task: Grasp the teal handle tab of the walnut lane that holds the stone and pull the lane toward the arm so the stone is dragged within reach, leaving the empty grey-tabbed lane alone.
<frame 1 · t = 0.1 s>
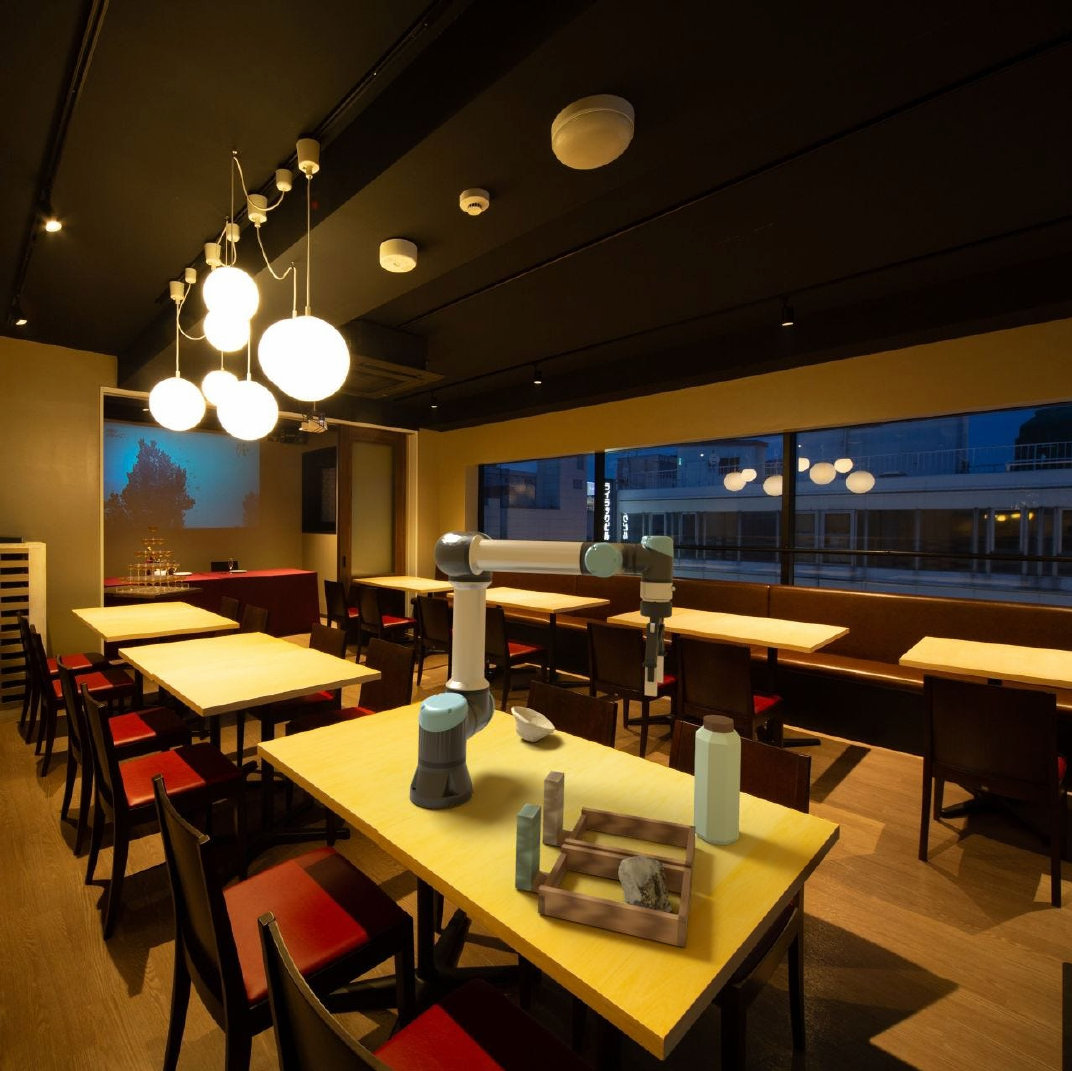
hand: (654, 688, 139), 28 cm above the table, fingers open, 13 cm apart
stone: (644, 911, 99), on the table
walnut lane: (601, 860, 102), point 7 cm above the table, slide at 0.0 cm
empty lane: (617, 818, 117), point 7 cm above the table, slide at 0.0 cm
bowl: (532, 740, 182), on the table
water bottle: (715, 836, 125), on the table
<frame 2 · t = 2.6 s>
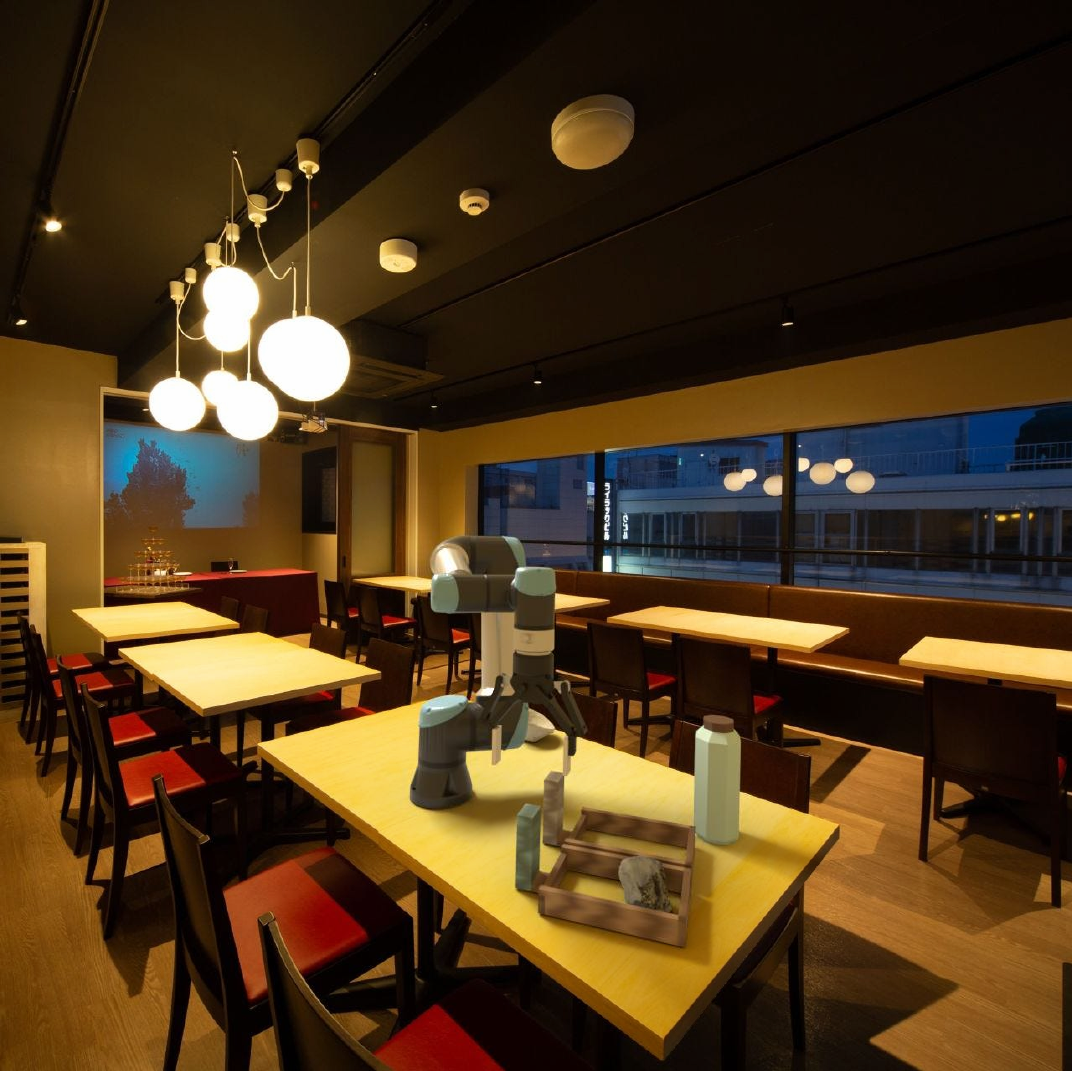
hand: (530, 767, 106), 21 cm above the table, fingers open, 13 cm apart
nothing on the table moved.
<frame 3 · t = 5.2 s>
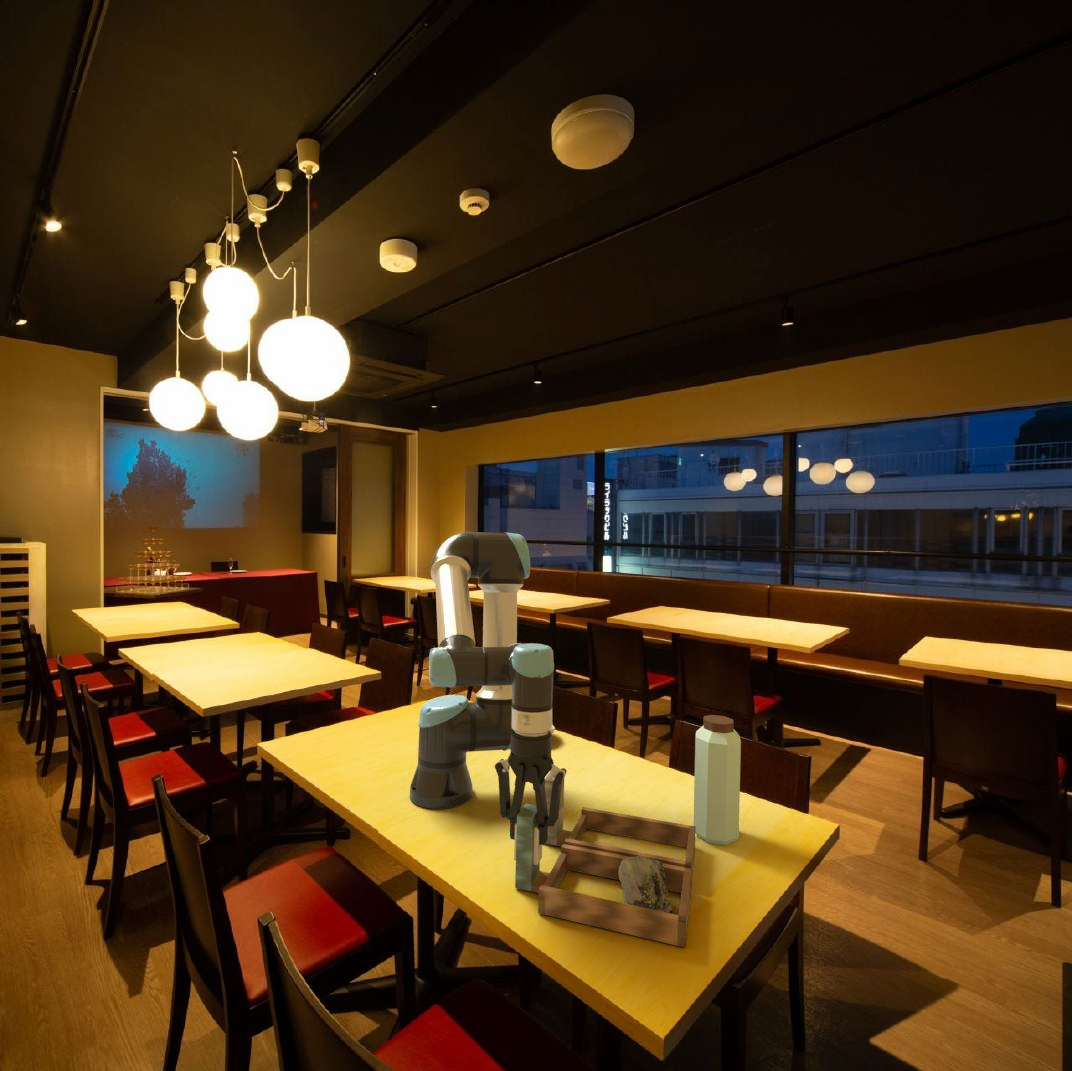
hand: (528, 858, 106), 5 cm above the table, fingers closed on walnut lane, 3 cm apart
walnut lane: (601, 860, 102), point 7 cm above the table, slide at 0.0 cm, touching gripper
everything else where it was.
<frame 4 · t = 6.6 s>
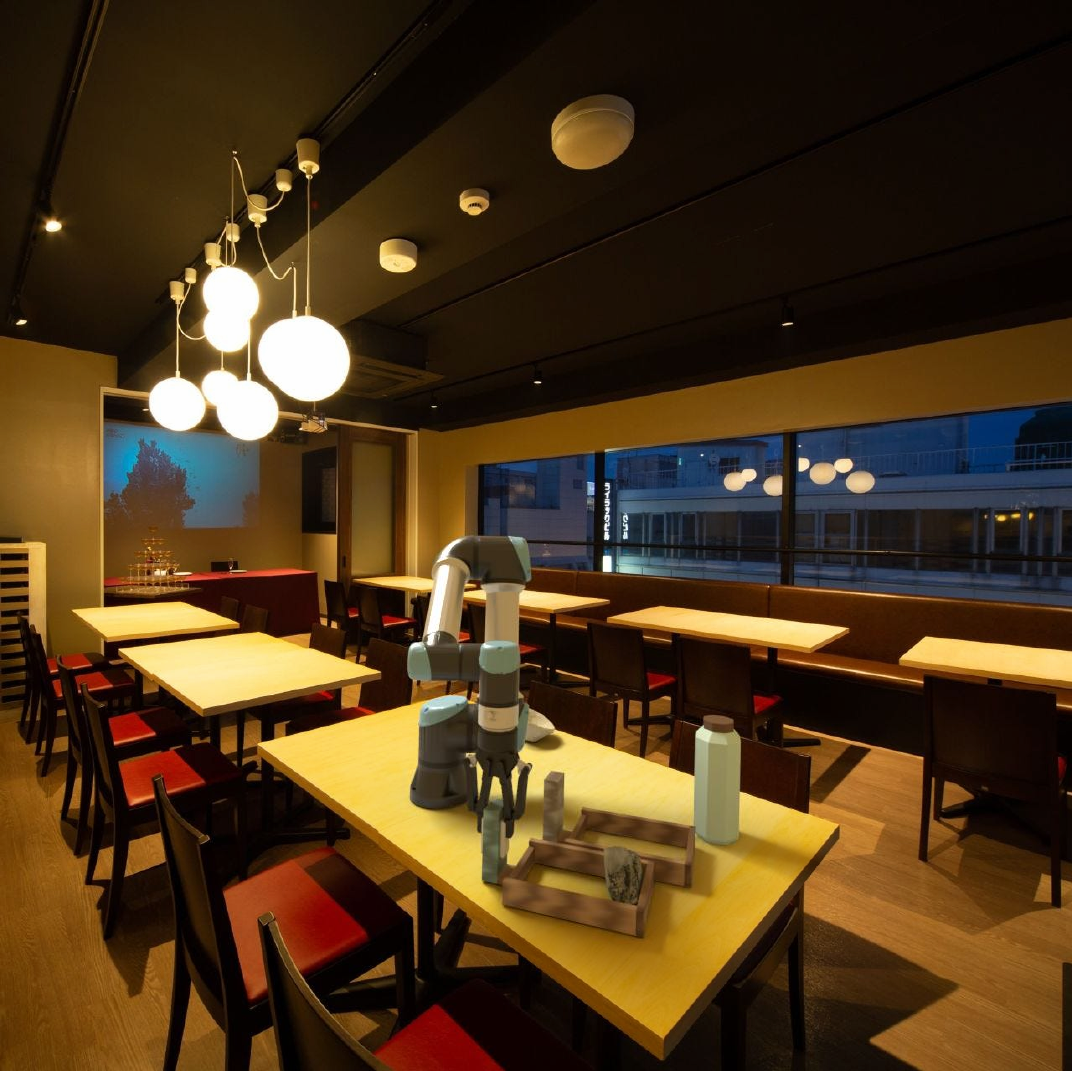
hand: (495, 851, 108), 5 cm above the table, fingers closed on walnut lane, 3 cm apart
stone: (622, 900, 102), on the table, touching walnut lane
walnut lane: (565, 853, 104), point 7 cm above the table, slide at 6.5 cm, touching gripper, stone
everything else where it was.
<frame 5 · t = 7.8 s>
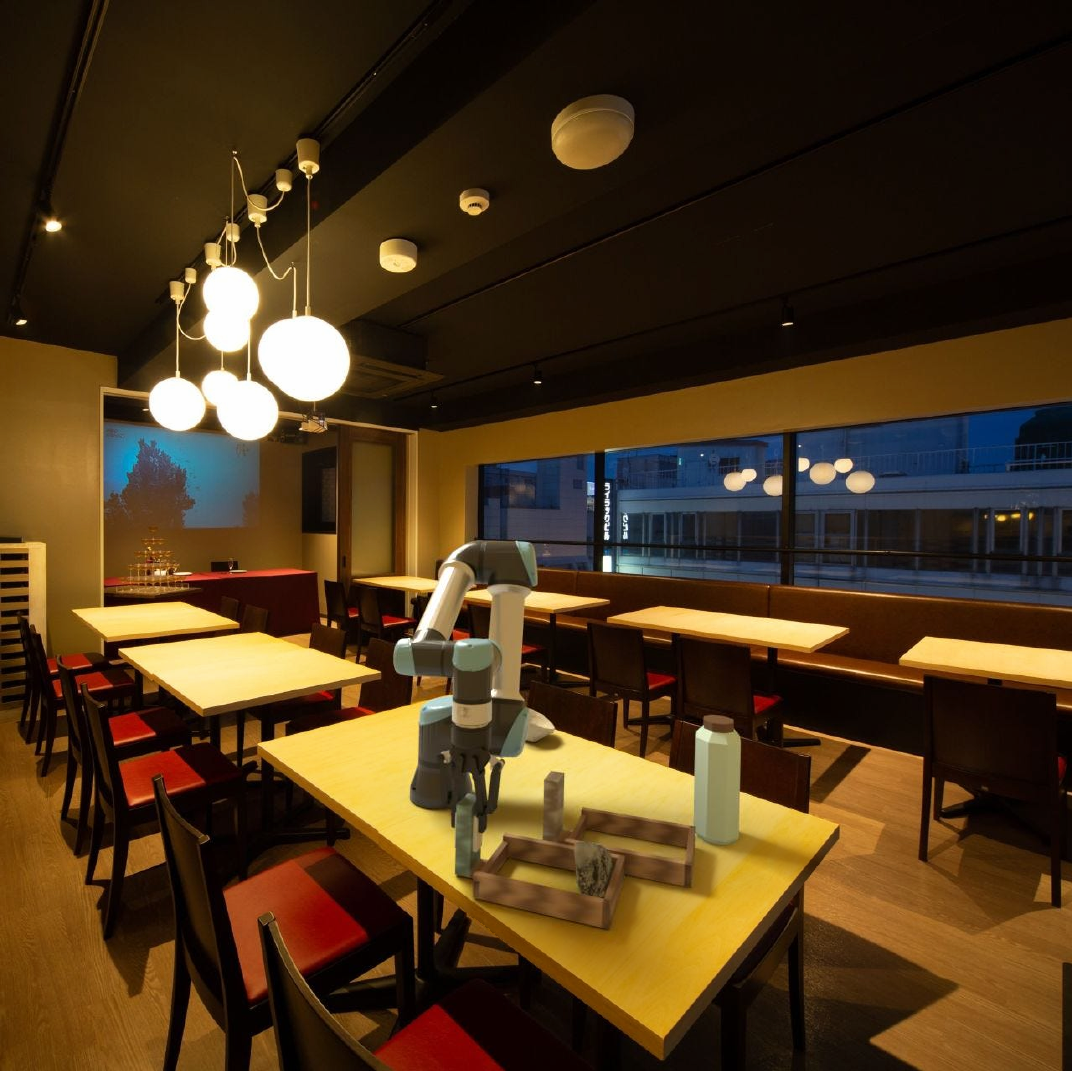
hand: (468, 846, 109), 5 cm above the table, fingers closed on walnut lane, 3 cm apart
stone: (592, 894, 103), on the table
walnut lane: (536, 847, 105), point 7 cm above the table, slide at 11.9 cm, touching gripper
everything else where it was.
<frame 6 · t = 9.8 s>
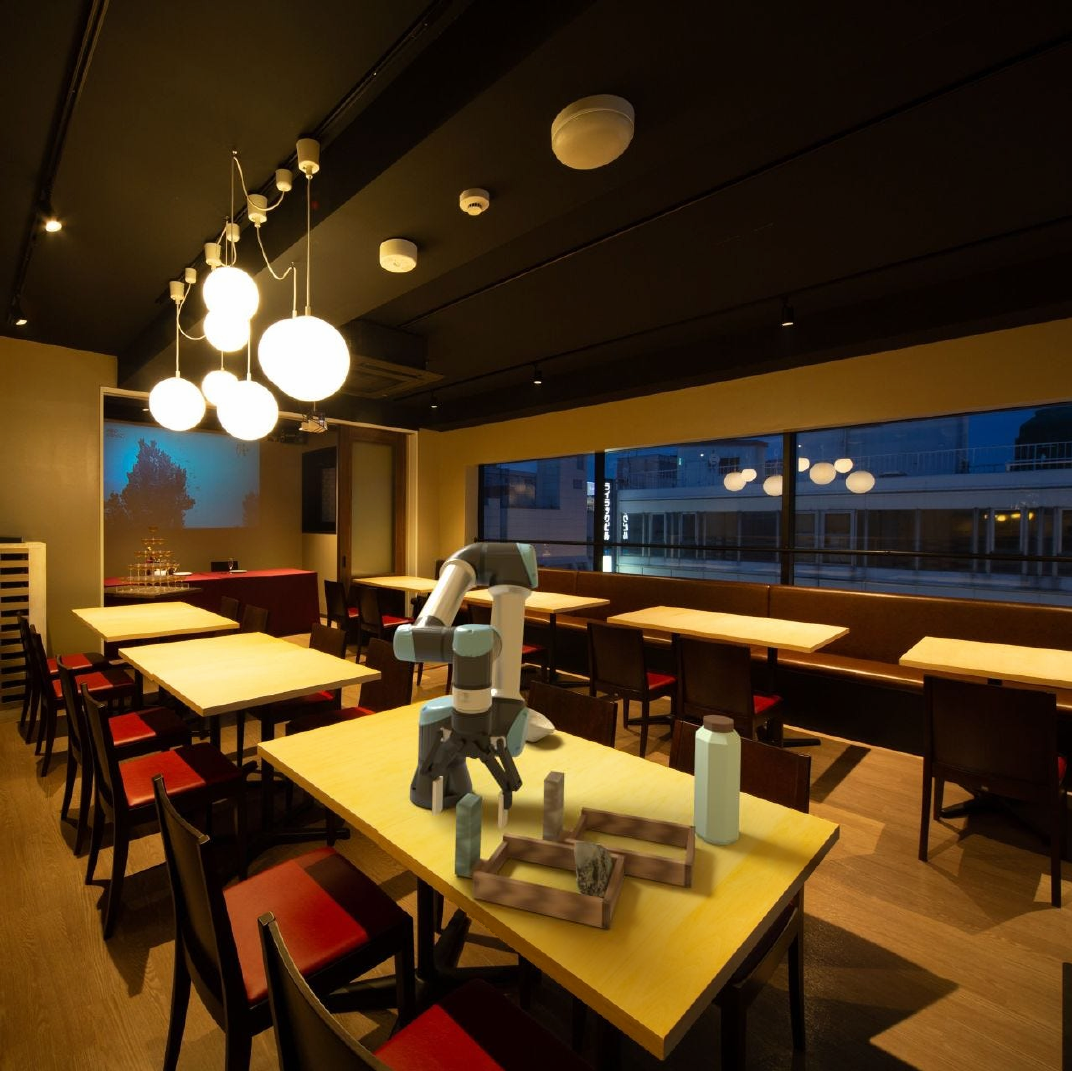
hand: (469, 818, 110), 9 cm above the table, fingers open, 13 cm apart
walnut lane: (536, 847, 105), point 7 cm above the table, slide at 12.0 cm
everything else where it was.
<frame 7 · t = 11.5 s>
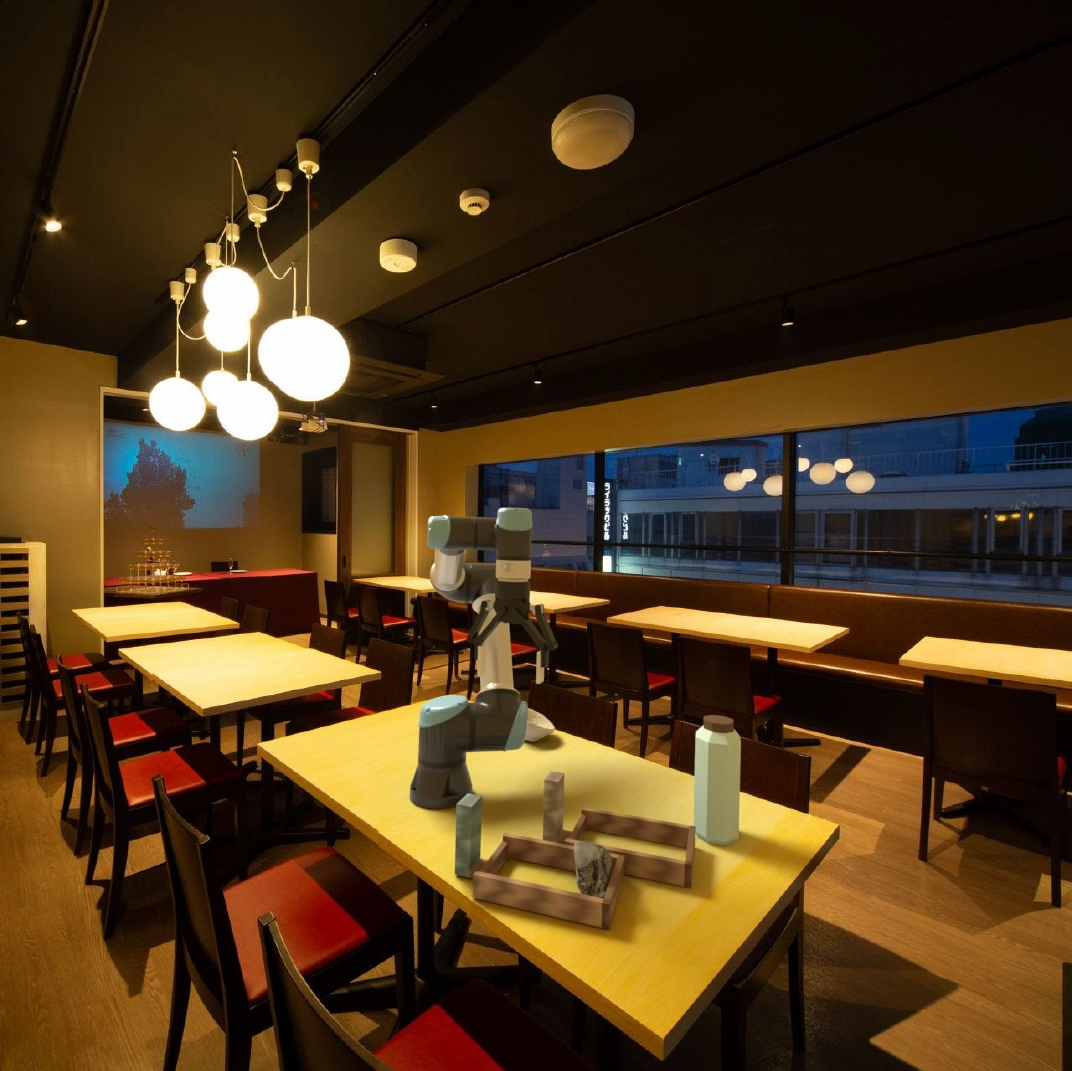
hand: (510, 678, 124), 33 cm above the table, fingers open, 13 cm apart
nothing on the table moved.
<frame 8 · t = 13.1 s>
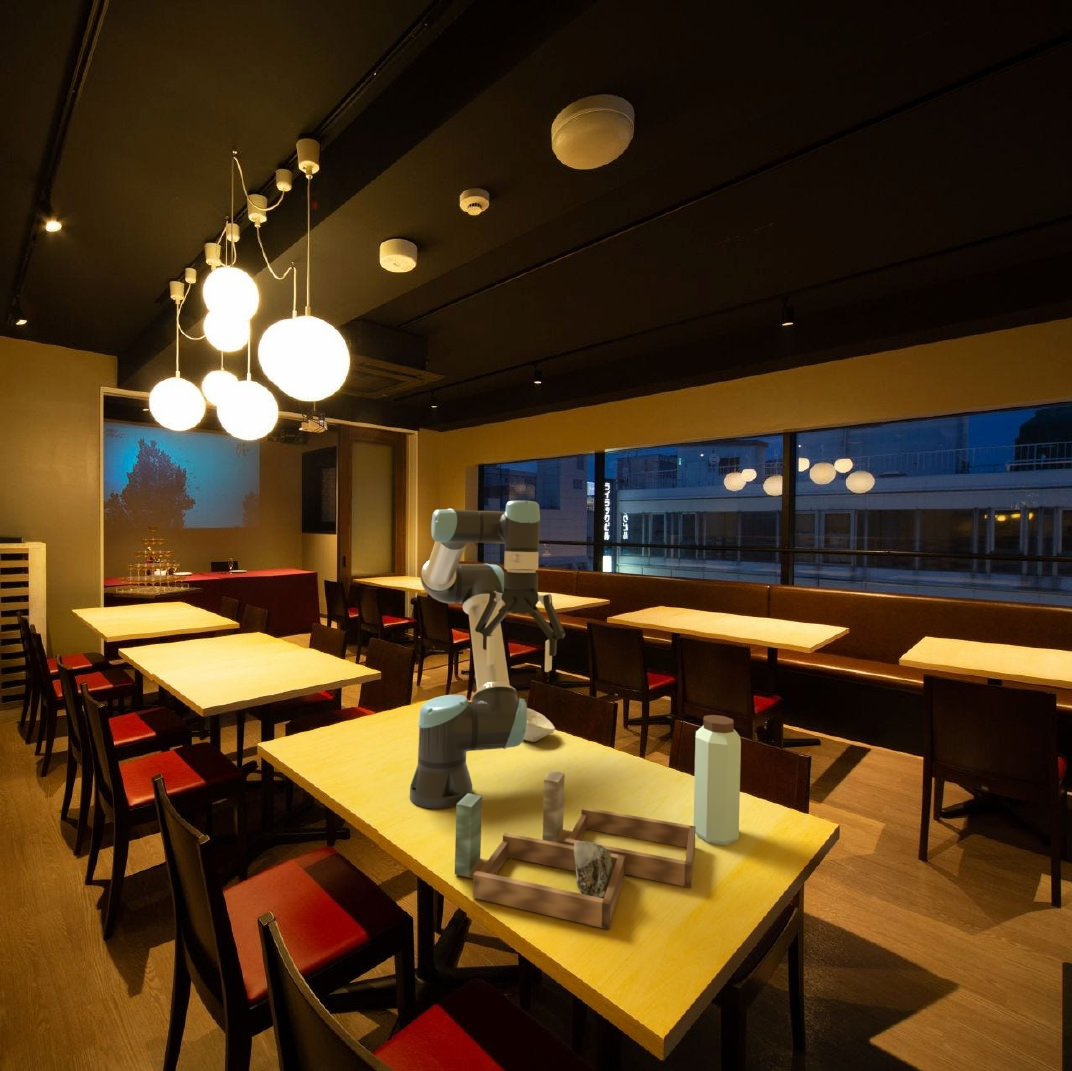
hand: (518, 667, 127), 35 cm above the table, fingers open, 13 cm apart
nothing on the table moved.
at the end: walnut lane slide at 12.0 cm; stone moved 9.6 cm from its start; stone inside the target area on the walnut lane (6.9 cm from its centre), point 0.0 cm above the walnut lane's base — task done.
